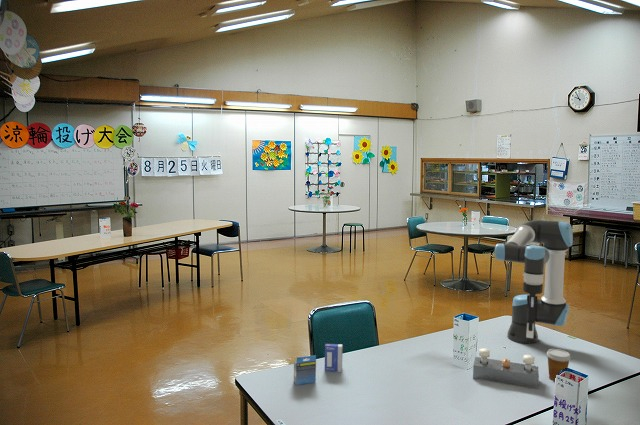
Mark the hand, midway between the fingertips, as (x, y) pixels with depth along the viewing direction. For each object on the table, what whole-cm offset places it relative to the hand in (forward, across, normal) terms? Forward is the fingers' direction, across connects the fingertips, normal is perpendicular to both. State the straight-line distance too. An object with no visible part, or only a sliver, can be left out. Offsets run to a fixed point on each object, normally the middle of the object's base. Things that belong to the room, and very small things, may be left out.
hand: (529, 337), depth 209 cm
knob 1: (+16, 0, -18) cm, 24 cm away
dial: (+14, 0, -9) cm, 17 cm away
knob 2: (+16, 0, 0) cm, 16 cm away
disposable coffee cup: (+20, -9, +12) cm, 25 cm away
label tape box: (+21, +37, -88) cm, 97 cm away
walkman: (+21, +21, -81) cm, 86 cm away
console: (+20, 0, -9) cm, 22 cm away
